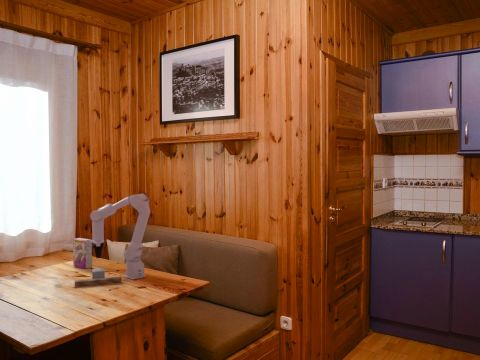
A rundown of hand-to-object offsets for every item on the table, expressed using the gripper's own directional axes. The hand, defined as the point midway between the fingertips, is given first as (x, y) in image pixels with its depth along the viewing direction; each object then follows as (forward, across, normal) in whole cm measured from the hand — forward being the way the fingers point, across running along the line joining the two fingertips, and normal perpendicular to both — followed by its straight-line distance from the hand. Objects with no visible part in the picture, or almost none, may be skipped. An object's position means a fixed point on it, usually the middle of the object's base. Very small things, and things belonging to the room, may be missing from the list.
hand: (98, 257), depth 229 cm
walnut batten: (+9, +20, 0) cm, 22 cm away
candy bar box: (+10, -20, -9) cm, 24 cm away
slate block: (+10, +10, 0) cm, 14 cm away
